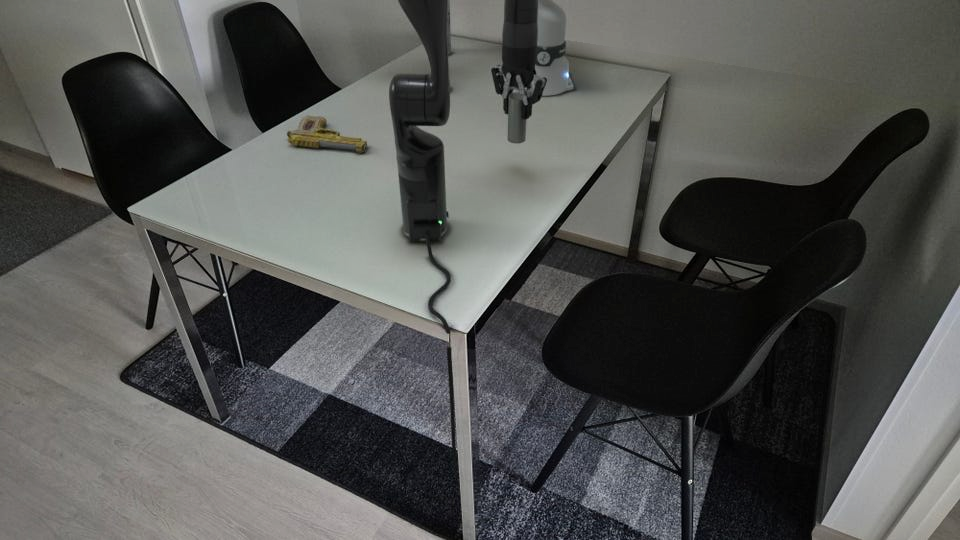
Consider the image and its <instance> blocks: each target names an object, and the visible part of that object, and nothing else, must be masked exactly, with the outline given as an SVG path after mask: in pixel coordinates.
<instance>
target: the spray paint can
mask: <svg viewBox="0 0 960 540" xmlns="http://www.w3.org/2000/svg"><path fill="white" fill-rule="evenodd" d="M451 37H452V36H451V0H448V14H447V45H448V56H449V55H451V54H452V40H451V39H452V38H451Z"/></svg>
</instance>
